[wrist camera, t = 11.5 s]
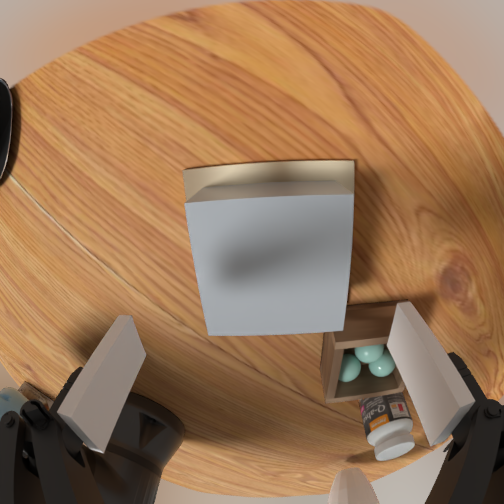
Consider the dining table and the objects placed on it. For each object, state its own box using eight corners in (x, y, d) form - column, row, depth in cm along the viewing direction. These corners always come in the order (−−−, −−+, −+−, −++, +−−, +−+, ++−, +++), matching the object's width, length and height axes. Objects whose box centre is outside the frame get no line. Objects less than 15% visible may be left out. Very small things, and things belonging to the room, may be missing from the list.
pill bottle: (367, 375, 29) (386, 443, 20) (405, 374, 29) (428, 436, 20) (350, 402, 31) (362, 465, 22) (386, 401, 31) (403, 459, 22)
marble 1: (329, 366, 28) (331, 388, 25) (332, 348, 26) (335, 370, 24) (356, 365, 27) (359, 386, 24) (360, 346, 26) (365, 368, 23)
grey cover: (219, 299, 25) (208, 335, 20) (203, 187, 21) (184, 203, 16) (331, 294, 24) (342, 330, 19) (335, 180, 20) (354, 194, 15)
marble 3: (362, 364, 27) (370, 384, 24) (368, 345, 26) (376, 367, 23) (386, 359, 27) (395, 379, 24) (393, 341, 26) (403, 361, 23)
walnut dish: (319, 368, 29) (325, 403, 24) (326, 306, 25) (335, 342, 21) (390, 360, 28) (403, 391, 23) (407, 299, 24) (427, 330, 20)
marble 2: (351, 333, 26) (350, 361, 26) (359, 336, 23) (358, 367, 23) (378, 330, 26) (377, 357, 25) (388, 332, 23) (388, 363, 22)
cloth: (206, 309, 26) (205, 312, 25) (184, 169, 21) (182, 170, 20) (344, 303, 25) (346, 307, 24) (351, 160, 20) (354, 161, 19)
